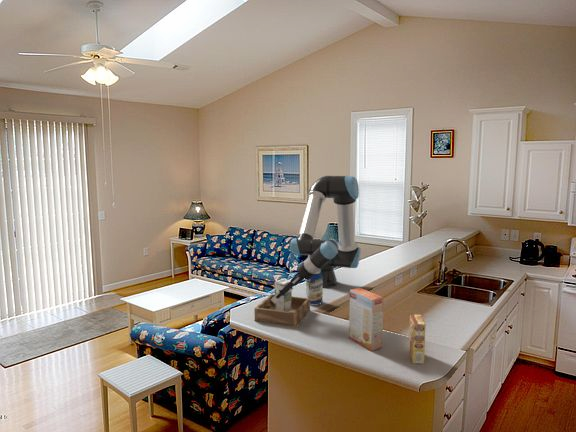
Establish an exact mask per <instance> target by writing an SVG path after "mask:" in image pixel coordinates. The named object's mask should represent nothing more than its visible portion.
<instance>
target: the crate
mask: <svg viewBox="0 0 576 432" xmlns="http://www.w3.org/2000/svg"><path fill="white" fill-rule="evenodd" d="M274 296H275V293H271V294H269V295H268V296H267V297H266V298H265V299H263V301H261V302H260V303H259V304H258V305H256V306H255V307H254V322H260V323H268V324H274V325H280V326H285V327H293V326H294V327H293V328H297V327H298V326H297V325H299V324H300V323H301V322H302V321H303V320H304V318H305V317H306V316H307V315H308V314H309V312H310V311H311V305H310V299H309V298H306V297H301V296H300V297H299V296H292V301H291V303H292V304H291V310H290V311H288V312H286V311H279V310H275V304H274V303H273V301H272V300H271V299H272V298H273V297H274ZM307 313H308V314H307Z"/></svg>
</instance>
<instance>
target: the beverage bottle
mask: <svg viewBox="0 0 576 432" xmlns="http://www.w3.org/2000/svg"><path fill="white" fill-rule="evenodd" d="M320 270H321V269H320ZM322 279H323V277H322V274H321V272H319V271H318V272H317V273H316V274H314V276H313V277H311V278H310V279H309V280H307V279H306V281H305V285H306V288H305V290H306V291H305V292H306V297H305V298H309V299H310V306H318V305H317V304H320V303H322V304H323V300H324V299H323V294H324V293H323V289H324V287H323V281H322ZM320 305H321V304H320Z"/></svg>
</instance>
